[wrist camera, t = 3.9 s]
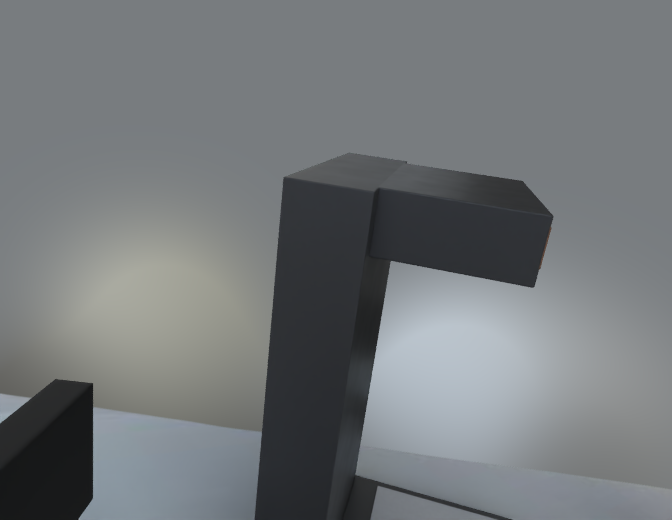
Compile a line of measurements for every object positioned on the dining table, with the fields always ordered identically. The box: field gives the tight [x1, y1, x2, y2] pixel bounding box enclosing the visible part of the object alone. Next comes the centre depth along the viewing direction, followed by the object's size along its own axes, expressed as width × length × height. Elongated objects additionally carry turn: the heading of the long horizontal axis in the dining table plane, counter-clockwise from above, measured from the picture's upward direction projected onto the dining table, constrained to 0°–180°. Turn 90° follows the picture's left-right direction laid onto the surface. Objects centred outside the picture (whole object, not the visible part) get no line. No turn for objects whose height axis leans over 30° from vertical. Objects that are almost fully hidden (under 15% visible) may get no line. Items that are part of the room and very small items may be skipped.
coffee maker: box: [255, 153, 553, 520], centre depth 36 cm, size 22×16×34 cm
